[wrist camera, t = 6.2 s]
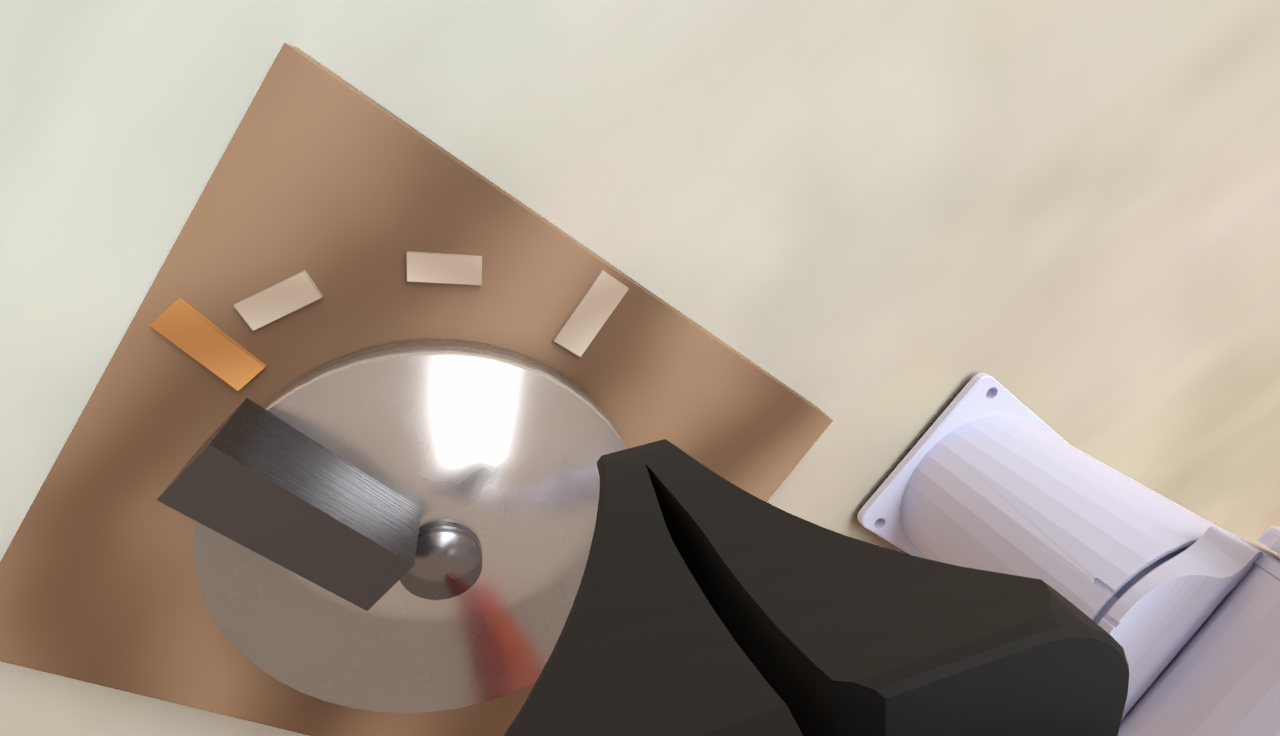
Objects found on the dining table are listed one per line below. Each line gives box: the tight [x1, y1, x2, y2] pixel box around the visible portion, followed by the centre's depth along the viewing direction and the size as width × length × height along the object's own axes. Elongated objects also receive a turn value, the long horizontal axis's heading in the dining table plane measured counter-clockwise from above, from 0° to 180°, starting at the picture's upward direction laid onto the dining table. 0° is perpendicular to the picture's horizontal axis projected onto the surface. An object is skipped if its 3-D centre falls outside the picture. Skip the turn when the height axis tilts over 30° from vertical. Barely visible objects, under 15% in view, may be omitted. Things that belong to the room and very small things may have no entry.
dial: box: [157, 338, 628, 713], centre depth 18 cm, size 13×14×4 cm
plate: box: [0, 43, 833, 736], centre depth 21 cm, size 20×20×1 cm
